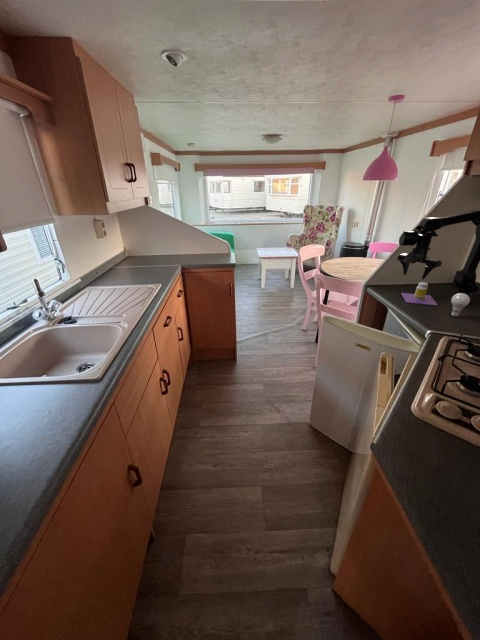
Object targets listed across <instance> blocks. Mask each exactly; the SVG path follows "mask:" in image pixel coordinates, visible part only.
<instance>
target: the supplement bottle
mask: <svg viewBox="0 0 480 640" xmlns="http://www.w3.org/2000/svg"><path fill="white" fill-rule="evenodd" d="M428 286H429V282H424V281H420V282H418V285H417V286H416V289H415V292H414V294H415V295H414V298H415V299H417V300H424V298H425V295H427V292H428Z"/></svg>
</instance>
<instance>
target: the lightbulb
mask: <svg viewBox="0 0 480 640" xmlns="http://www.w3.org/2000/svg"><path fill="white" fill-rule="evenodd" d="M469 302H470V303H471V297H470V298H469V296H468V295H466V294H464V293H458V294H457V293H456V294H454V295H453V296H452V297H451V300H450V303H451V305H452V311H451V314H450V315H451V316H453V317H459V315H460V313H461V311H462V310H463V309H464V308H465V307H467V306H468V305H470V304H469Z"/></svg>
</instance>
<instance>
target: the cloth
mask: <svg viewBox="0 0 480 640" xmlns="http://www.w3.org/2000/svg"><path fill="white" fill-rule="evenodd" d="M400 294H401V296H402V299H403V300H404V301H405V303H406V304H414V305H415V304H416V305H424V306H425V305H427V306H435V307H439V305H438V303H437V301H436V300H435V299H434V298H433V297H432V296H431V295H430V294H426V295H425V298H424V300H417V299H415V298H414V295H415V293H408V292H401V293H400Z"/></svg>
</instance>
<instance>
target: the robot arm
mask: <svg viewBox="0 0 480 640" xmlns="http://www.w3.org/2000/svg"><path fill="white" fill-rule="evenodd" d="M466 222H471V223H472V224H473V225H475V231H474V234H475V239H474V243H473V244H472V247H471V249H470V252H469V254H468V256H467V259H466V261H465V263H464V265H463V268H462V269H460V270H456V271H455V275H454V276H453V279H454V280H453V282H454V283H455V287H456V288H458V289H457V292H456V294H458V293H464V294H466V295H468V296H469V298H470V299H471V296H472V294H474V293H477V292H478V291H479V290H480V288H479V287H478V285H477V284H476V280H477V269H478V267H479V265H480V210H476V209H472V210H469V211H464V212H460V213H455V214H451V215H447V216H439V217H438V216H432V217H424V218H422V219H421V220H420V222H419V224H418V225H417V226H416V227H414V228H413V230H403V231H402V233H401V235H400V237H399V238H398V245H399V246H401V247H403V246H404V247H405V246H409V247H410V246H411V247H412V246H414V247H413V248H412V251H410V252H408V253H406V252H405V253H400V254H398V255H397V256H396V261H398V262H399V263H400V264H401V265H402V273H403V276H406V275H407V273H408V271H409V268H410V267H409V266H410V264H416V263H421V264H425V265H426V266H424V271H423V274H422V277H421V280H425V279H426V277H427V276H428V275H429V274H430V273H431V272H432V271H433V270H434V269H436V268H439V267H442V264H443V262H442V260H441V259H437V258H431V259H428V258H429V257H428V253H429V251H431V247H430V246H431V242H432V240H433V237H438V236H439V235H438V234H437V232H436V231H437V230H440V229H442V228H444V227H447V226H451V225H457V224H461V223H466ZM470 304H471V301H470V302H469V304H468V305H470Z"/></svg>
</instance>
